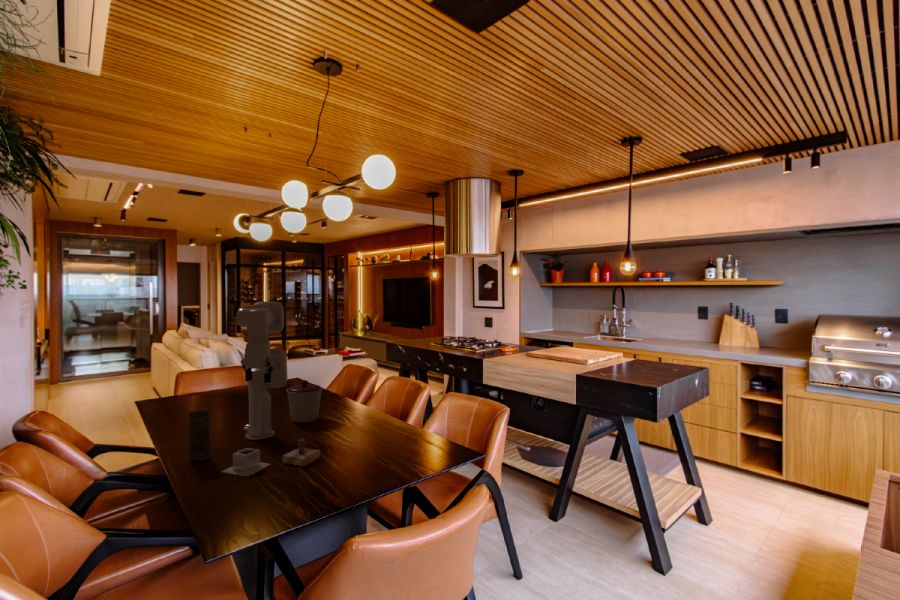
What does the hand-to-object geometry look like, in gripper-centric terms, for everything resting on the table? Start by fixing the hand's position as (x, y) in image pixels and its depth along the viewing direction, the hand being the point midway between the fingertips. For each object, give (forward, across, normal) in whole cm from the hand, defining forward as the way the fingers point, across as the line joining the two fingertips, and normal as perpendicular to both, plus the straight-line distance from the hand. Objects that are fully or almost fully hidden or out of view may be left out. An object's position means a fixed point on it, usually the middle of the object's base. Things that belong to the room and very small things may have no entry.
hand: (258, 381), depth 176 cm
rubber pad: (+30, +6, -12) cm, 33 cm away
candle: (+31, -19, -11) cm, 38 cm away
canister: (+31, -15, +48) cm, 59 cm away
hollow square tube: (+30, +6, -12) cm, 33 cm away
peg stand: (+30, +20, +2) cm, 36 cm away
